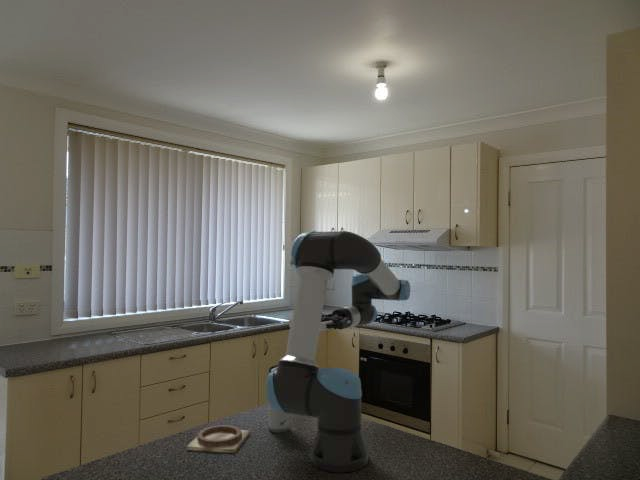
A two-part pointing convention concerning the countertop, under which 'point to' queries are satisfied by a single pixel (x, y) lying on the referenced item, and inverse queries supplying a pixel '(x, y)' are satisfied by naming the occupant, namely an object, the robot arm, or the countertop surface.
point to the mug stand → (219, 439)
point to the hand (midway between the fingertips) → (303, 325)
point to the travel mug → (277, 418)
